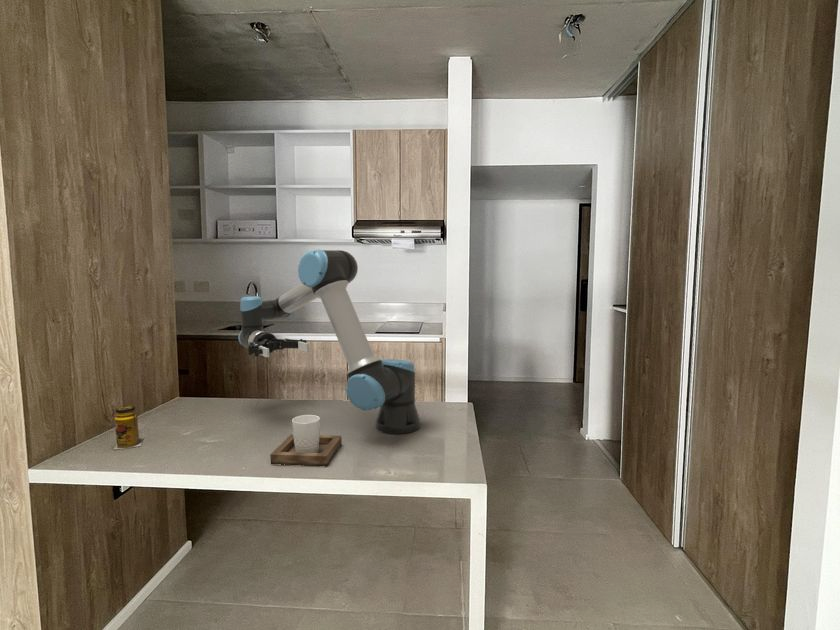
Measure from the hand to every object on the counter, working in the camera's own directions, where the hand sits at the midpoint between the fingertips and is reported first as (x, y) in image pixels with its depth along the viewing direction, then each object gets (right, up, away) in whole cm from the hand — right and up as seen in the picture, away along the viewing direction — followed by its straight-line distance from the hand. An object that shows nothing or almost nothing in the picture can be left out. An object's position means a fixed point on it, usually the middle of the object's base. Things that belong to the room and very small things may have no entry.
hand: (288, 350), depth 157 cm
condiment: (-49, -29, -4) cm, 57 cm away
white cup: (+9, -29, -14) cm, 33 cm away
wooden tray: (+9, -30, -13) cm, 34 cm away
